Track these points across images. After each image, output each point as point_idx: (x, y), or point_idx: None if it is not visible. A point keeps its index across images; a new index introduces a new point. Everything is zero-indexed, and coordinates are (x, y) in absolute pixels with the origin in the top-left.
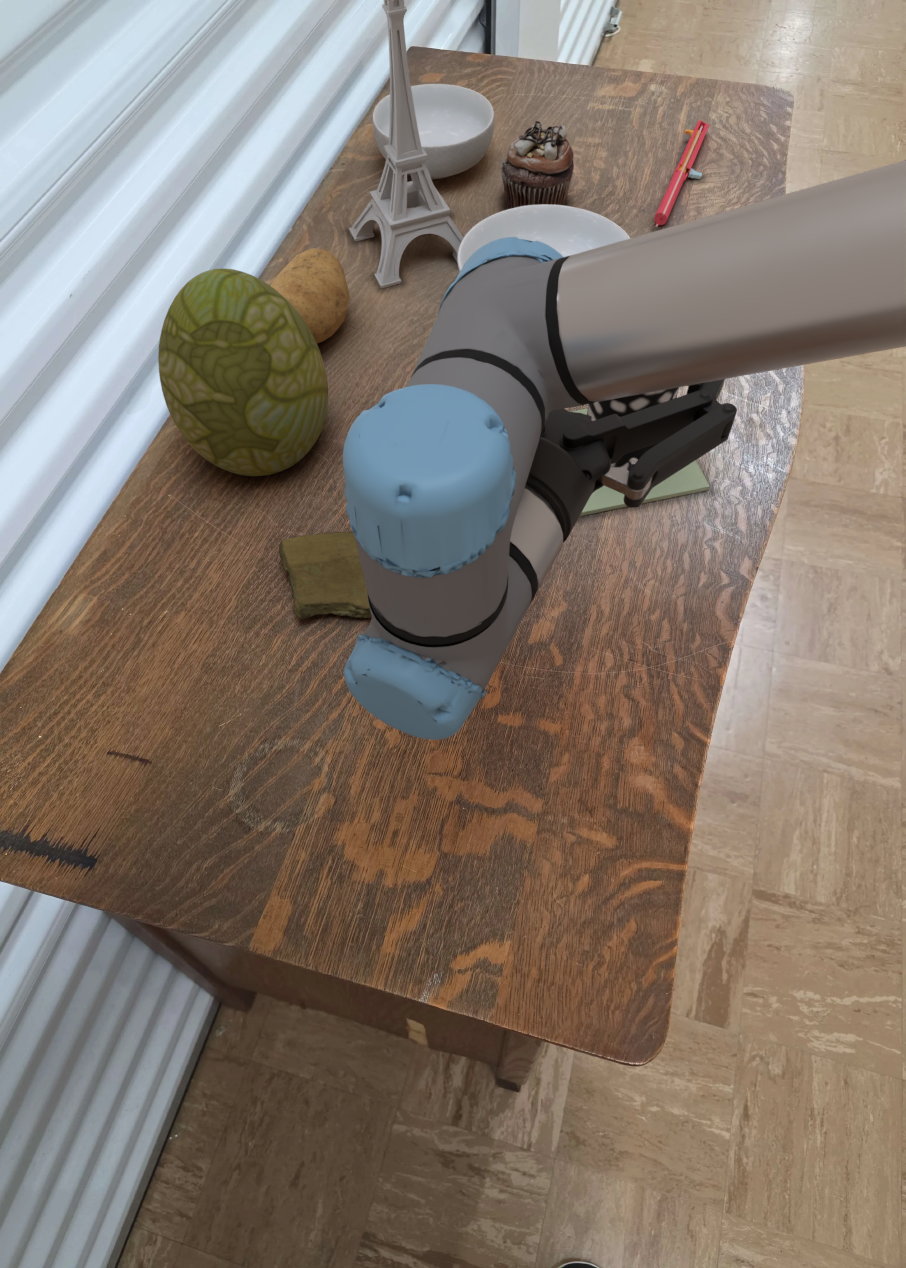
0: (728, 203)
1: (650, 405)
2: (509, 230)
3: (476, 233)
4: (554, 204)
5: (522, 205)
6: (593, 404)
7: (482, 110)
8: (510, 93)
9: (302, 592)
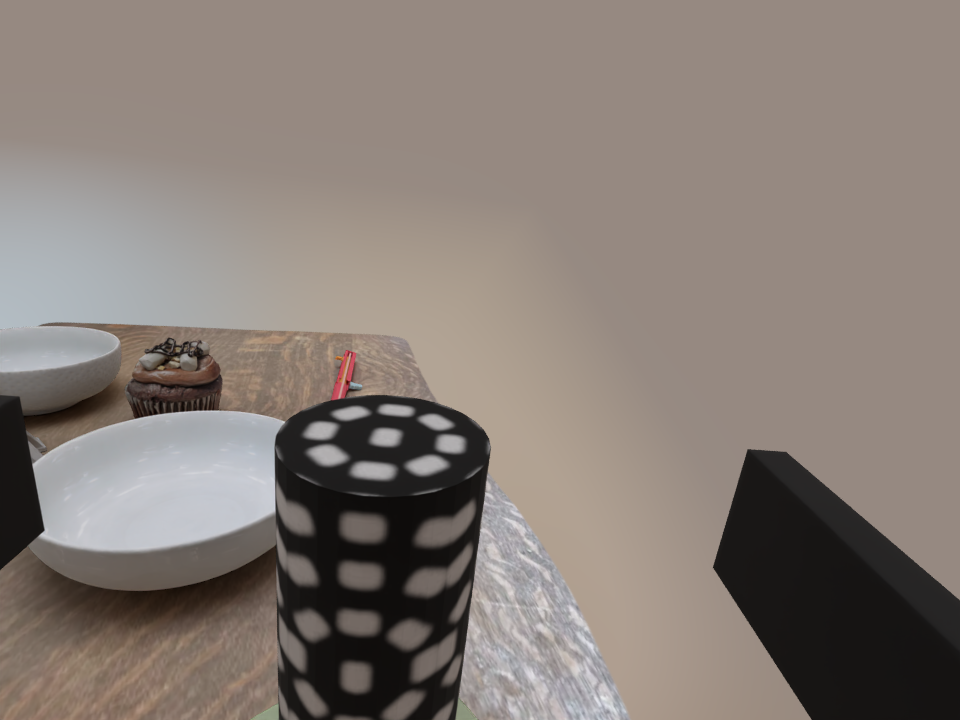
0: None
1: (428, 700)
2: (129, 447)
3: (65, 454)
4: None
5: None
6: None
7: (107, 345)
8: (153, 345)
9: None
